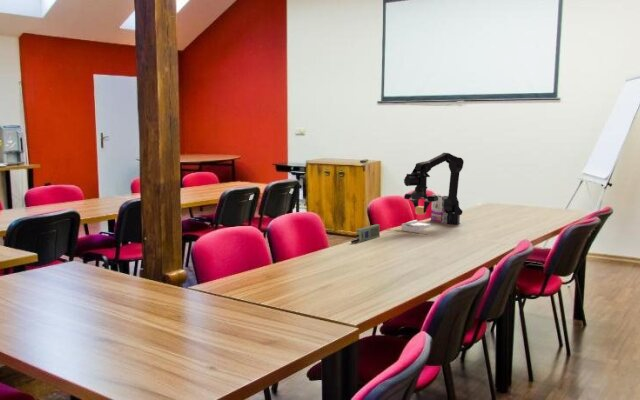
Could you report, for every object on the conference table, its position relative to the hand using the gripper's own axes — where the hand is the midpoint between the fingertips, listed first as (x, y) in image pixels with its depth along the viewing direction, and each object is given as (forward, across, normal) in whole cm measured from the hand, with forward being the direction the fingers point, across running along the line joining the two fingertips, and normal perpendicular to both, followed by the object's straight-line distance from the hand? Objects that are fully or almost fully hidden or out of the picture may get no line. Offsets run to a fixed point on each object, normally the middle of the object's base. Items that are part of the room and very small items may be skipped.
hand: (420, 212), depth 336 cm
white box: (+9, 0, -5) cm, 10 cm away
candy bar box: (+9, 0, +26) cm, 27 cm away
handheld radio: (+9, -8, -48) cm, 49 cm away
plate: (+9, 0, +9) cm, 13 cm away
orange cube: (+1, 0, 0) cm, 1 cm away
